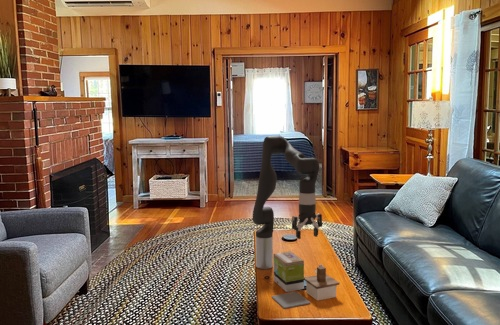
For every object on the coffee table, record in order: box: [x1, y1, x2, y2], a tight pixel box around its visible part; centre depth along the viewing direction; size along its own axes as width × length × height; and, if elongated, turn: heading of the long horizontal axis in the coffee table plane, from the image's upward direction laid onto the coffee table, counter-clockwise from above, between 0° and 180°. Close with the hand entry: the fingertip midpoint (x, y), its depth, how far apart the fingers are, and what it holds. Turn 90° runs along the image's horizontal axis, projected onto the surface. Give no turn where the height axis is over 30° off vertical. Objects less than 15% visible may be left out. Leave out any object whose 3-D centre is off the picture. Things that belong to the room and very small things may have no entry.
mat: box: [271, 291, 311, 310], centre depth 200 cm, size 13×13×1 cm
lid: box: [304, 265, 340, 289], centre depth 205 cm, size 12×12×7 cm
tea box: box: [273, 250, 305, 293], centre depth 216 cm, size 15×10×15 cm, turn 21°
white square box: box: [306, 282, 337, 301], centre depth 205 cm, size 10×10×6 cm
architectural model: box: [313, 263, 324, 275], centre depth 225 cm, size 3×7×8 cm, turn 6°
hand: (307, 237), depth 200 cm, fingers open, 8 cm apart
